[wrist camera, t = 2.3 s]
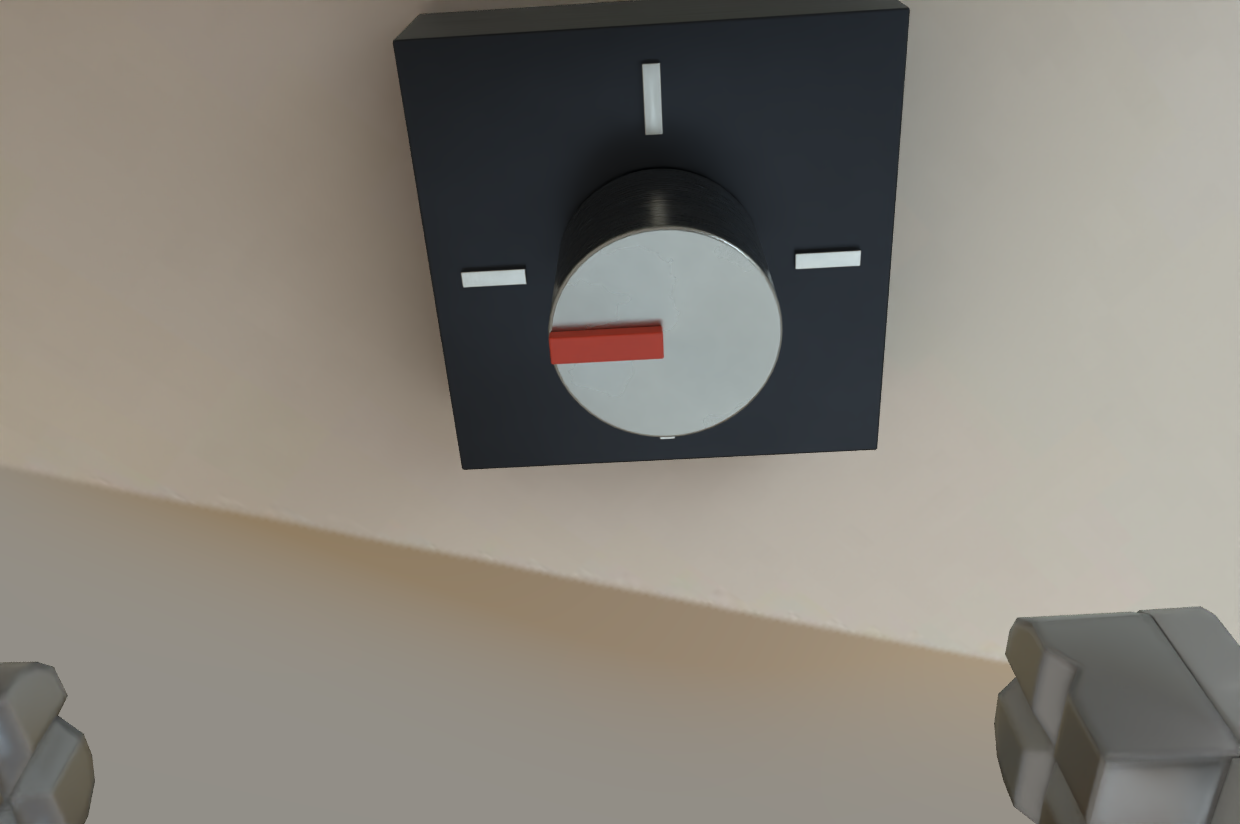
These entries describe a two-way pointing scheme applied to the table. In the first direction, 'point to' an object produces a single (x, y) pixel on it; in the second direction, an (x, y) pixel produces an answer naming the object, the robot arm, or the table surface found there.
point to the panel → (657, 139)
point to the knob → (663, 305)
